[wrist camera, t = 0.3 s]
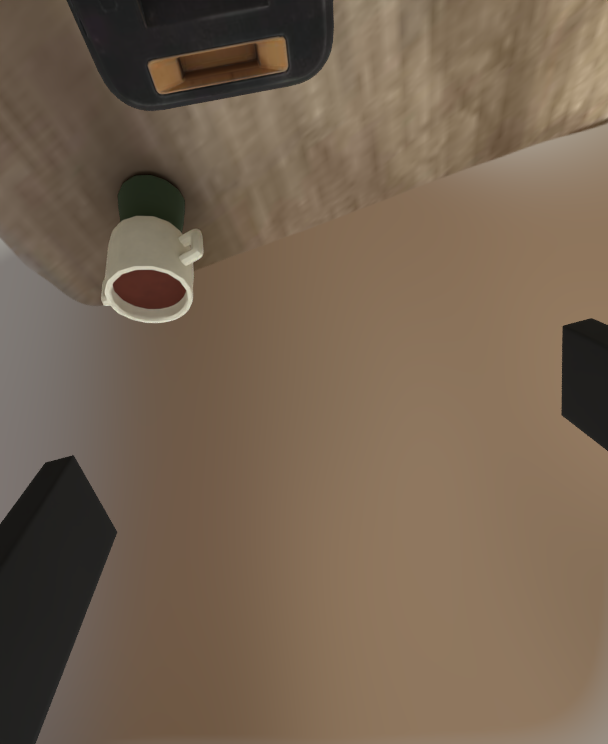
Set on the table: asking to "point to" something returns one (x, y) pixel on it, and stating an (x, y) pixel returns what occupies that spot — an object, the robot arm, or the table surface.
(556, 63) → the table surface
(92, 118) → the table surface
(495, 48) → the table surface
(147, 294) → the character mug
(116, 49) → the electronic device
